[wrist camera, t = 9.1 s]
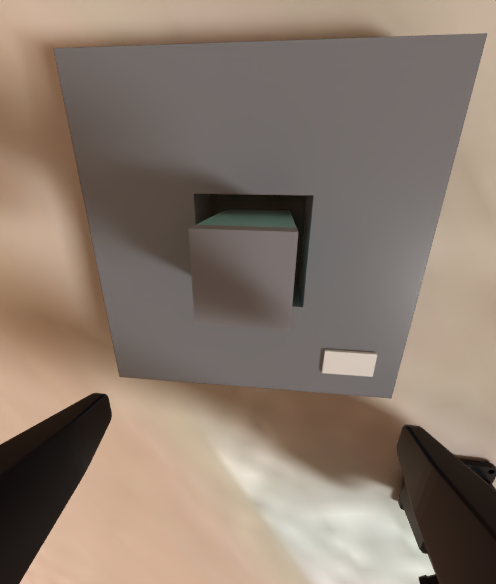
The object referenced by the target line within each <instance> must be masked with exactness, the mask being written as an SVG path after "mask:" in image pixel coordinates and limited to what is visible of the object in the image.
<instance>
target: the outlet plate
mask: <svg viewBox="0 0 496 584" xmlns="http://www.w3.org/2000/svg"><path fill="white" fill-rule="evenodd" d="M486 37H487V33H485V34H456V35H427V36H398V37H369V38H340V39H311V40H281V41H252V42H223V43H194V44H165V45H136V46H106V47H77V48H53V49H54V54H55V59H56V64H57V69H58V74H59V79H60V84H61V89H62V94H63V99H64V104H65V109H66V114H67V119H68V124H69V129H70V134H71V138H72V143H73V148H74V153H75V158H76V163H77V168H78V173H79V178H80V183H81V188H82V193H83V198H84V203H85V208H86V213H87V218H88V223H89V228H90V233H91V238H92V243H93V248H94V253H95V257H96V262H97V267H98V272H99V277H100V282H101V287H102V292H103V297H104V302H105V307H106V312H107V317H108V322H109V327H110V332H111V337H112V342H113V347H114V352H115V357H116V362H117V367H118V372H119V377H129V378H141V379H154V380H166V381H179V382H191V383H204V384H216V385H229V386H242V387H254V388H267V389H279V390H292V391H304V392H317V393H329V394H342V395H354V396H367V397H379V398H392V394H393V390H394V386H395V383H396V379H397V375H398V371H399V367H400V364H401V360H402V356H403V352H404V348H405V345H406V341H407V337H408V333H409V329H410V326H411V322H412V318H413V314H414V310H415V307H416V303H417V299H418V295H419V291H420V288H421V284H422V280H423V276H424V272H425V269H426V265H427V261H428V257H429V253H430V250H431V246H432V242H433V238H434V234H435V231H436V227H437V223H438V219H439V215H440V212H441V208H442V204H443V200H444V196H445V193H446V189H447V185H448V181H449V177H450V174H451V170H452V166H453V162H454V158H455V155H456V151H457V147H458V143H459V139H460V136H461V132H462V128H463V124H464V120H465V117H466V113H467V109H468V105H469V101H470V98H471V94H472V90H473V86H474V82H475V79H476V75H477V71H478V67H479V63H480V60H481V56H482V52H483V48H484V44H485V41H486ZM210 194H253V195H307V197H306V209H305V220H304V232H303V244H302V255H301V267H300V279H299V286H295V285H294V291H293V303H292V316H291V328H290V331H287V330H271V329H255V328H240V327H224V326H208V325H195V321H194V306H193V291H192V275H191V260H190V245H189V228H191V227H192V226H194V225H196V224H198V223H200V222H202V221H204V220H206V219H208V218H210Z"/></svg>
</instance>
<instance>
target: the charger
mask: <svg viewBox="0 0 496 584" xmlns="http://www.w3.org/2000/svg"><path fill="white" fill-rule="evenodd" d="M297 243H298V230H297V227H296V225H295V222H294V220H293V217H292V215H291V212H290V211H288V210H249V209H225V210H223V211H221V212H220V213H218V214H216V215H214V216H212V217H210V218H208V219H206V220H204V221H202V222H200V223H198V224H196V225H194V226H192V227H191V228H189V245H190V260H191V275H192V291H193V306H194V321H195V325H208V326H224V327H240V328H255V329H271V330H287V331H290V328H291V316H292V303H293V291H294V279H295V267H296V255H297Z"/></svg>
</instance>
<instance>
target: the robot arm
mask: <svg viewBox="0 0 496 584" xmlns="http://www.w3.org/2000/svg"><path fill="white" fill-rule="evenodd" d="M111 417H112V412H111V408H110V403H109V398H108V396H107V395H106V394H101V393H93V394H91V395H89V396H87V397H85V398H84V399H82V400H80V401H78V402H76V403H75V404H73V405H71V406H69V407H67V408H66V409H64V410H62V411H60V412H58V413H57V414H55V415H53V416H51V417H49V418H47V419H46V420H44V421H42V422H40V423H38V424H37V425H35V426H33V427H31V428H29V429H28V430H26V431H24V432H22V433H20V434H19V435H17V436H15V437H13V438H11V439H10V440H8V441H6V442H4V443H2V444H1V445H0V584H19V583H20V582H21V580H22V578H23V576H24V575H25V573H26V571H27V570H28V568H29V566H30V565H31V563H32V561H33V560H34V558H35V556H36V555H37V553H38V551H39V550H40V548H41V546H42V545H43V543H44V541H45V540H46V538H47V536H48V535H49V533H50V531H51V530H52V528H53V526H54V524H55V523H56V521H57V519H58V518H59V516H60V514H61V513H62V511H63V509H64V508H65V506H66V504H67V503H68V501H69V499H70V498H71V496H72V494H73V493H74V491H75V489H76V488H77V486H78V484H79V483H80V481H81V479H82V477H83V476H84V474H85V472H86V470H87V468H88V466H89V465H90V463H91V460H92V458H93V456H94V454H95V452H96V450H97V448H98V446H99V444H100V442H101V440H102V438H103V436H104V434H105V431H106V429H107V427H108V425H109V423H110V421H111ZM397 453H398V457H399V461H400V465H401V468H402V472H403V476H404V479H405V481H404V484H403V487H402V490H401V493H400V496H399V497H400V498H399V501H398V503H399V506H400V508H401V509H402V510H405V513H406V515H407V518H408V521H409V523H410V526H411V528H412V531H413V534H414V536H415V539H416V541H417V544H418V547H419V549H420V550H421V551H422V552H423V553H425V554H428V556H429V559H430V561H431V564H432V566H433V569H434V571H435V575H431V576H426V575H424V576H420V577H419V581H420V584H496V489H495V488H494V486H493V485H492V483H493V481H494V479H495V477H496V467H495V466H494V465H493V464H492V463H484V462H474V461H463V460H459V459H458V458H457V457H456V456H455V455H453V454H452V453H451V452H450V451H449V450H447V449H446V448H445V447H444V446H443V445H442V444H440V443H439V442H438V441H437V440H436V439H435V438H433V437H432V436H431V435H430V434H429V433H428V432H426V431H425V430H424V429H423V428H421V427H420V426H414V425H404V426H403V428H402V431H401V434H400V437H399V441H398V444H397Z"/></svg>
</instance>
